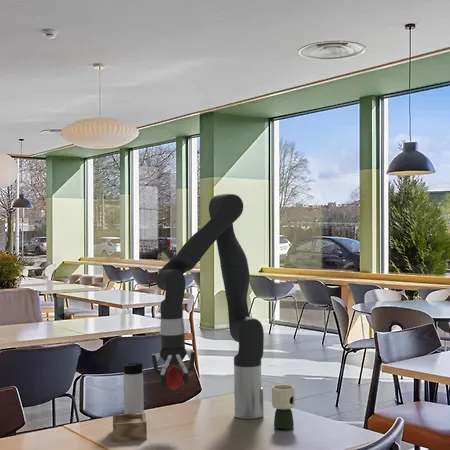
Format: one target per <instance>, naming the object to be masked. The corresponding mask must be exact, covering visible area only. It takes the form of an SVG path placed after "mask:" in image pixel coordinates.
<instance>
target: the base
mask: <svg viewBox="0 0 450 450" xmlns="http://www.w3.org/2000/svg"><path fill="white" fill-rule="evenodd" d="M147 427H148V425H147V418H146V412H144V413H136V414H124V413H122V414H121V413H120V414H112V439H113V440H112V441H113V442H115V441H116V442H126V441H127V442H129V441H137V440H138V441H139V440H140V441H142V440H148V439H147V437H148V429H147ZM116 442H115V443H116Z"/></svg>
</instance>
